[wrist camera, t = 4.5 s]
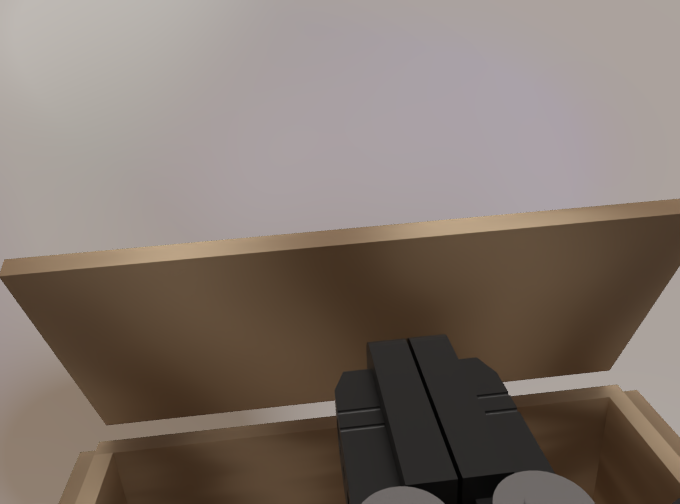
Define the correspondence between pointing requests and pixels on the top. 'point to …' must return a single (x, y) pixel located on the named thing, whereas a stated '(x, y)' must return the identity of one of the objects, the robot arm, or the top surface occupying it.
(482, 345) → the near flap
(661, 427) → the wooden box
